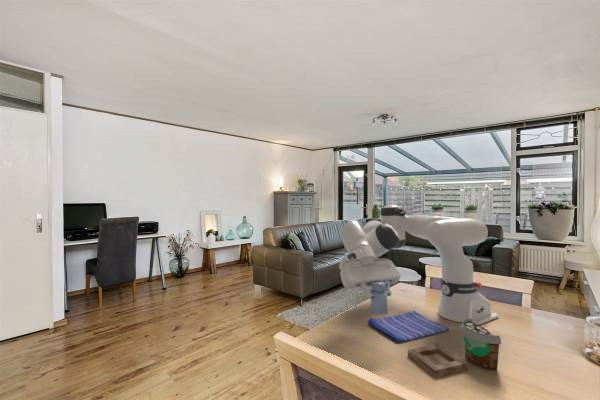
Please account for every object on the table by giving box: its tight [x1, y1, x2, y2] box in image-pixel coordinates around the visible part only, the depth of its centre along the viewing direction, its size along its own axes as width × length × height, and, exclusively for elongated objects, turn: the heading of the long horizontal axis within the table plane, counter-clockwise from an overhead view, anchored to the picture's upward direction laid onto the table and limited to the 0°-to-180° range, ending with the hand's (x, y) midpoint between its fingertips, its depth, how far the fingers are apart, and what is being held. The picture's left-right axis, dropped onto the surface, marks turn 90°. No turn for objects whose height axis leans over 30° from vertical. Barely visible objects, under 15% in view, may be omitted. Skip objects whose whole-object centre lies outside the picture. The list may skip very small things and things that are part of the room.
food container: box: [460, 319, 502, 371], centre depth 84 cm, size 12×6×10 cm, turn 5°
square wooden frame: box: [407, 343, 469, 378], centre depth 83 cm, size 11×11×2 cm
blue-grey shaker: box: [370, 281, 388, 316], centre depth 91 cm, size 5×5×9 cm
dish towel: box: [367, 310, 450, 344], centre depth 106 cm, size 17×24×3 cm
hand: (380, 296), depth 91 cm, fingers closed on blue-grey shaker, 5 cm apart
